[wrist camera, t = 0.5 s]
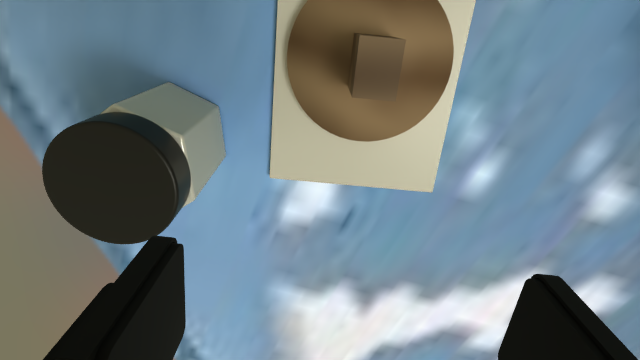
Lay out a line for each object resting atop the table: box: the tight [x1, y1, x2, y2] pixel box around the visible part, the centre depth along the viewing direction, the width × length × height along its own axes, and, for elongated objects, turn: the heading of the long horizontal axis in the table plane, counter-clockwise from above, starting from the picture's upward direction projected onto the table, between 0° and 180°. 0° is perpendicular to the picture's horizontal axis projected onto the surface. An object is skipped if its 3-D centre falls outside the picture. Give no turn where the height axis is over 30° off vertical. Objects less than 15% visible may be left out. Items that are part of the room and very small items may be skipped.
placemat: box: [270, 0, 476, 192], centre depth 32 cm, size 20×15×1 cm
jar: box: [42, 82, 226, 244], centre depth 28 cm, size 9×8×12 cm
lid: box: [287, 0, 454, 142], centre depth 28 cm, size 13×13×6 cm
